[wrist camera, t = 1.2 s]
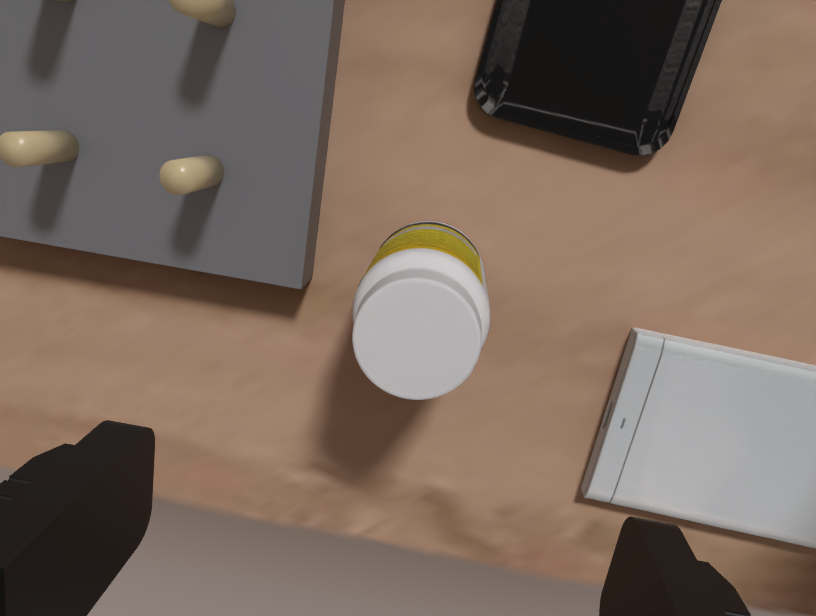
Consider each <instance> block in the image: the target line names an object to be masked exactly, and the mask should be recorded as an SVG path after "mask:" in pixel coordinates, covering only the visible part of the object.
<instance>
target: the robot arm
mask: <svg viewBox="0 0 816 616" xmlns="http://www.w3.org/2000/svg"><path fill="white" fill-rule="evenodd" d="M154 454H155V435H154V432H153V430H152V429H151V428H147V427H142V426H136V425H131V424H125V423H120V422H114V421H109V420H106V421H103V422H102V423H100V424H99V425H98V426H97V427H96V428H94V429H93V430H92V431H91V432H90V433H89V434H87V435H86V436H85V437H84V438H83V439H82V440H80V441H79V442H78V443H77V444H76V445H71V444H63V445H61V446H58V447H56V448H54V449H51V450H49V451H47V452H44V453H42V454H40V455H37V456H35V457H33V458H32V459H30V460H29V461H28V462H27V463H25V464H24V465H23V466H22V467H20V468H19V469H18V470H17V471H15V472H14V473H13V474H12V475H10V476H9V480H8V481H6V480H4V481H3V482H2V483H0V616H87V615H88V613H89V612H90V611H91V609H92V608H93V606H94V605H95V604H96V602H97V601H98V600H99V598H100V597H101V596H102V594H103V593H104V592H105V590H106V589H107V588H108V586H109V585H110V584H111V582H112V581H113V580H114V578H115V577H116V575H117V574H118V573H119V571H120V570H121V569H122V567H123V566H124V565H125V563H126V562H127V561H128V559H129V558H130V557H131V555H132V554H133V553H134V551H135V550H136V549H137V547H138V546H139V544H140V542H141V541H142V539H143V537H144V535H145V532H146V530H147V527H148V523H149V520H150V516H151V510H152V495H153V474H154ZM750 615H751V614H750V613H749V611H748V609H747V608H746V606H745V604H744V603H743V601H742V599H741V598H740V596H739V594H738V593H737V591H736V589H735V588H734V587H733V586H732V585H731V584H730V583H729V582H728V581H727V580H726V579H725V578H724V577H723V576H722V575H721V574H720V573H719V572H718V571H717V570H716V569H714V568H713V567H712V566H711V565H710V564H709V563H708V562H703V561H697V559H696V557H695V555H694V554H693V552H692V550H691V548H690V546H689V544H688V543H687V541H686V539H685V537H684V535H683V533H682V532H681V530H680V528H679V527H678V526H677V525H674V524H669V523H663V522H658V521H652V520H647V519H641V518H636V517H628V518H627V519H626V520H625V522H624V523H623V525H622V528H621V531H620V534H619V538H618V541H617V544H616V548H615V551H614V554H613V557H612V561H611V564H610V567H609V570H608V574H607V577H606V580H605V584H604V587H603V590H602V594H601V600H600V610H599V616H750Z"/></svg>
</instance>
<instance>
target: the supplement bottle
mask: <svg viewBox="0 0 816 616" xmlns="http://www.w3.org/2000/svg"><path fill="white" fill-rule="evenodd" d="M353 324H354V325H353V333H352V343H353V349H354V353H355V357H356V360H357V362H358V364H359V366H360V368H361V369H362V371H363V372H364V373H365V375H366V376H367V377H368V378H369V380H371V381H372V382H373V383H374V384H375V385H376V386H377V387H379V388H380V389H382V390H384V391H385V392H387V393H389V394H391V395H394V396H397V397H400V398H405V399H411V400H425V399H431V398H436V397H439V396H442V395H444V394H446V393H448V392H450V391H452V390H453V389H455V388H456V387H458V386H459V385H460V384H461V383H463V382H464V381H465V380H466V379H467V378H468V376H469V375H470V373H471V372H472V371H473V369H474V367H475V365H476V363H477V360H478V358H479V354H480V351H481V349H482V347H483V345H484V343H485V340H486V337H487V335H488V331H489V326H490V304H489V298H488V292H487V286H486V279H485V270H484V266H483V262H482V259H481V256H480V254H479V252H478V250H477V248H476V247H475V245H474V244H473V243H472V241H471V240H470V239H469V238H468V237H467V236H466V235H465V234H464V233H463V232H461V231H460V230H458V229H457V228H455V227H453V226H451V225H448V224H445V223H442V222H436V221H421V222H416V223H412V224H409V225H406V226H404V227H402V228H400V229H399V230H397V231H396V232H394V233H393V234H392V235H390V236H389V237H388V238H387V240H386V241H385V242H384V243H383V244H382V246H381V247H380V249H379V251H378V253H377V254H376V256H375V258H374V259H373V261H372V263H371V265H370V266H369V268H368V270H367V272H366V273H365V275H364V277H363V278H362V280H361V282H360V284H359V286H358V289H357V292H356V294H355V298H354V304H353Z"/></svg>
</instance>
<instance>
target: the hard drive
mask: <svg viewBox="0 0 816 616" xmlns="http://www.w3.org/2000/svg"><path fill="white" fill-rule="evenodd" d="M581 491H582V494H583V496H584V498H589V499H593V500H598V501H602V502H607V503H612V504H616V505H620V506H625V507H630V508H635V509H639V510H644V511H649V512H653V513H657V514H661V515H667V516H671V517H675V518H680V519H685V520H689V521H693V522H697V523H702V524H706V525H711V526H715V527H719V528H724V529H728V530H733V531H738V532H742V533H747V534H752V535H756V536H761V537H766V538H770V539H775V540H779V541H784V542H788V543H792V544H797V545H802V546H806V547H810V548H815V549H816V365H812V364H807V363H802V362H797V361H793V360H788V359H783V358H778V357H773V356H769V355H764V354H759V353H754V352H750V351H745V350H740V349H735V348H730V347H726V346H721V345H716V344H711V343H706V342H702V341H697V340H692V339H688V338H683V337H678V336H672V335H667V334H663V333H658V332H654V331H649V330H644V329H639V328H634V327H632V329H631V332H630V336H629V339H628V342H627V345H626V348H625V351H624V354H623V358H622V361H621V364H620V367H619V370H618V373H617V376H616V379H615V383H614V386H613V389H612V392H611V395H610V398H609V401H608V404H607V407H606V410H605V414H604V417H603V420H602V423H601V426H600V430H599V433H598V436H597V439H596V442H595V445H594V448H593V451H592V454H591V458H590V461H589V464H588V467H587V470H586V473H585V476H584V479H583V482H582V485H581Z"/></svg>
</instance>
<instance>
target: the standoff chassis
mask: <svg viewBox="0 0 816 616" xmlns="http://www.w3.org/2000/svg"><path fill="white" fill-rule="evenodd" d="M344 3H345V0H0V236H1V237H7V238H13V239H18V240H24V241H30V242H35V243H41V244H47V245H52V246H58V247H64V248H69V249H75V250H81V251H86V252H92V253H98V254H103V255H109V256H115V257H121V258H126V259H132V260H138V261H143V262H149V263H155V264H160V265H166V266H172V267H177V268H183V269H189V270H194V271H200V272H206V273H211V274H217V275H223V276H229V277H234V278H240V279H246V280H251V281H257V282H263V283H268V284H274V285H280V286H285V287H291V288H297V289H302V288H303V287H304V286H305V285H306V283H307V282H308V281H309V280H310V279H311V278H312V274H313V265H314V257H315V248H316V240H317V232H318V223H319V215H320V206H321V198H322V189H323V181H324V172H325V164H326V155H327V147H328V138H329V130H330V121H331V113H332V105H333V96H334V88H335V79H336V71H337V62H338V54H339V45H340V37H341V28H342V20H343V11H344Z"/></svg>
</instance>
